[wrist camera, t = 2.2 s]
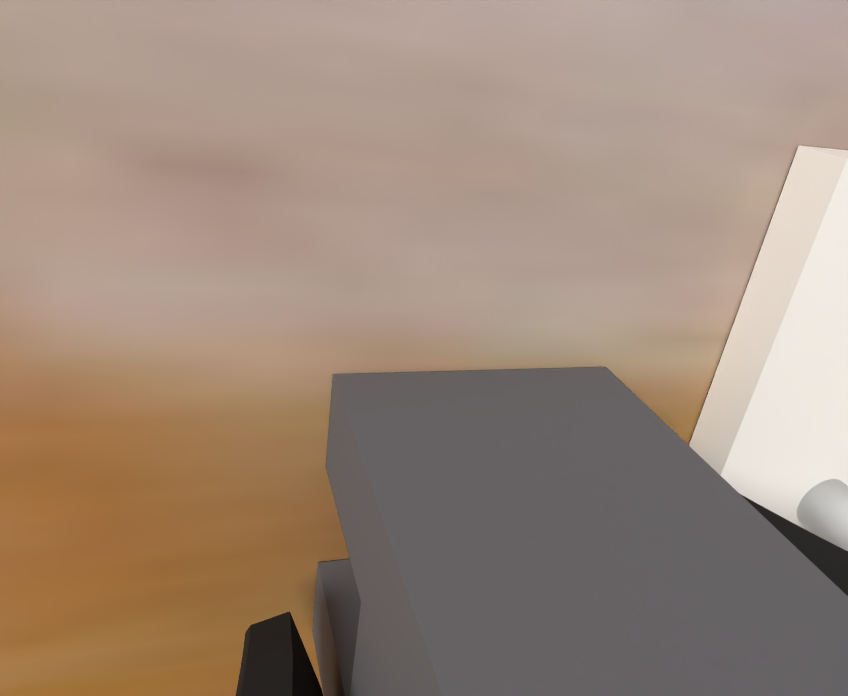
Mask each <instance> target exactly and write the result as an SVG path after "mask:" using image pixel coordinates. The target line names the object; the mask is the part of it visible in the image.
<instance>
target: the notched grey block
mask: <svg viewBox="0 0 848 696" xmlns="http://www.w3.org/2000/svg"><path fill="white" fill-rule="evenodd" d="M326 469H327V473H328V477H329V481H330V485H331V488H332V492H333V496H334V500H335V504H336V508H337V511H338V515H339V519H340V523H341V527H342V531H343V534H344V538H345V542H346V546H347V550H348V553H349V557H350V559H345V560H336V561H327V562H318V568H317V581H316V593H315V606H314V619H313V637H314V642H315V648H316V654H317V660H318V665H319V671H320V677H321V683H322V688H323V694H324V696H848V596H847V595H846V594H845V593H844V592H843V591H842V590H841V589H839V588H838V587H837V586H836V585H835V584H834V583H833V582H832V581H831V580H830V579H829V578H828V577H827V576H826V575H825V574H824V573H823V572H822V571H821V570H819V569H818V568H817V567H816V566H815V565H814V564H813V563H812V562H811V561H810V560H809V559H808V558H807V557H806V556H805V555H804V554H803V553H802V552H800V551H799V550H798V549H797V548H796V547H795V546H794V545H793V544H792V543H791V542H790V541H789V540H788V539H787V538H786V537H785V536H784V535H783V534H781V533H780V532H779V531H778V530H777V529H776V528H775V527H774V526H773V525H772V524H771V523H770V522H769V521H768V520H767V519H766V518H765V517H764V516H763V515H761V514H760V513H759V512H758V511H757V510H756V509H755V508H754V507H753V506H752V505H751V504H750V503H749V502H748V501H747V500H746V499H745V498H744V497H742V496H741V495H740V494H739V493H738V492H737V491H736V490H735V489H734V488H733V487H732V486H731V485H730V484H729V483H728V482H727V481H726V480H725V479H723V478H722V477H721V476H720V475H719V474H718V473H717V472H716V471H715V470H714V469H713V468H712V467H711V466H710V465H709V464H708V463H707V462H706V461H705V460H703V459H702V458H701V457H700V456H699V455H698V454H697V453H696V452H695V451H694V450H693V449H692V448H691V447H690V446H689V445H688V444H687V443H686V442H684V441H683V440H682V439H681V438H680V437H679V436H678V435H677V434H676V433H675V432H674V431H673V430H672V429H671V428H670V427H669V426H668V425H667V424H666V423H664V422H663V421H662V420H661V419H660V418H659V417H658V416H657V415H656V414H655V413H654V412H653V411H652V410H651V409H650V408H649V407H648V406H647V405H645V404H644V403H643V402H642V401H641V400H640V399H639V398H638V397H637V396H636V395H635V394H634V393H633V392H632V391H631V390H630V389H629V388H628V387H626V386H625V385H624V384H623V383H622V382H621V381H620V380H619V379H618V378H617V377H616V376H615V375H614V374H613V373H612V372H611V371H610V370H609V369H608V368H606V367H579V368H542V369H505V370H468V371H431V372H394V373H356V374H333V380H332V392H331V405H330V417H329V430H328V443H327V455H326Z"/></svg>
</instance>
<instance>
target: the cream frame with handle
mask: <svg viewBox="0 0 848 696" xmlns="http://www.w3.org/2000/svg"><path fill="white" fill-rule="evenodd" d="M689 446H690V447H691V448H692V449H693V450H694V451H695V452H696V453H697V454H698V455H699V456H700V457H701V458H702V459H703V460H705V461H706V462H707V463H708V464H709V465H710V466H711V467H712V468H713V469H714V470H715V471H716V472H717V473H718V474H719V475H720V476H721V477H722V478H723V479H725V480H726V481H727V482H728V483H729V484H730V485H731V486H732V487H733V488H734V489H735V490H736V491H737V492H738V493H739V494H741V495H743V496H745V497H746V498H748V499H750V500H752V501H754V502H755V503H757V504H759V505H761V506H763V507H765V508H766V509H768V510H770V511H772V512H774V513H776V514H777V515H779V516H781V517H783V518H785V519H787V520H788V521H790V522H792V523H794V524H796V525H798V526H800V527H802V528H803V529H805V530H807V531H809V532H811V533H813V534H815V535H817V536H819V537H821V538H823V539H825V540H826V541H828V542H830V543H832V544H834V545H836V546H838V547H840V548H842V549H844V550H846V551H848V150H839V149H829V148H819V147H809V146H798V149H797V151H796V154H795V157H794V160H793V162H792V165H791V168H790V171H789V173H788V176H787V179H786V181H785V184H784V187H783V190H782V192H781V195H780V198H779V201H778V203H777V206H776V209H775V212H774V214H773V217H772V220H771V223H770V225H769V228H768V231H767V233H766V236H765V239H764V242H763V244H762V247H761V250H760V253H759V255H758V258H757V261H756V264H755V266H754V269H753V272H752V274H751V277H750V280H749V283H748V285H747V288H746V291H745V294H744V296H743V299H742V302H741V305H740V307H739V310H738V313H737V315H736V318H735V321H734V324H733V326H732V329H731V332H730V335H729V337H728V340H727V343H726V346H725V348H724V351H723V354H722V357H721V359H720V362H719V365H718V367H717V370H716V373H715V376H714V378H713V381H712V384H711V387H710V389H709V392H708V395H707V398H706V400H705V403H704V406H703V408H702V411H701V414H700V417H699V419H698V422H697V425H696V428H695V430H694V433H693V436H692V439H691V441H690V444H689Z"/></svg>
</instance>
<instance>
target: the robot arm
mask: <svg viewBox="0 0 848 696" xmlns="http://www.w3.org/2000/svg"><path fill="white" fill-rule="evenodd" d="M740 495H741V494H740ZM741 496H742V497H744V498H745V499H746V500H747V501H748V502H749V503H750V504H751V505H752V506H753V507H754V508H755V509H756V510H757V511H758V512H759V513H760V514H761V515H763V516H764V517H765V518H766V519H767V520H768V521H769V522H770V523H771V524H772V525H773V526H774V527H775V528H776V529H777V530H778V531H779V532H780V533H781V534H783V535H784V536H785V537H786V538H787V539H788V540H789V541H790V542H791V543H792V544H793V545H794V546H795V547H796V548H797V549H798V550H799V551H800V552H802V553H803V554H804V555H805V556H806V557H807V558H808V559H809V560H810V561H811V562H812V563H813V564H814V565H815V566H816V567H817V568H818V569H819V570H821V571H822V572H823V573H824V574H825V575H826V576H827V577H828V578H829V579H830V580H831V581H832V582H833V583H834V584H835V585H836V586H837V587H838V588H839V589H841V590H842V591H843V592H844V593H845V594H846V595H847V596H848V551H846V550H844V549H842V548H840V547H838V546H836V545H834V544H832V543H830V542H828V541H826V540H825V539H823V538H821V537H819V536H817V535H815V534H813V533H811V532H809V531H807V530H805V529H803V528H802V527H800V526H798V525H796V524H794V523H792V522H790V521H788V520H787V519H785V518H783V517H781V516H779V515H777V514H776V513H774V512H772V511H770V510H768V509H766V508H765V507H763V506H761V505H759V504H757V503H755V502H754V501H752V500H750V499H748V498H746V497H745V496H743V495H741ZM236 696H323V693H322V689H321V687H320V684H319V682H318V679H317V677H316V674H315V672H314V670H313V667H312V665H311V662H310V660H309V657H308V655H307V652H306V650H305V648H304V645H303V643H302V640H301V638H300V635H299V633H298V630H297V628H296V626H295V623H294V621H293V618H292V616H291V613H290V612H287V613H284V614H281V615H278V616H276V617H273V618H270V619H267V620H264V621H261V622H259V623H256V624H253V625H251V626H250V627H249V628H248V630H247V631H246V633H245V641H244V650H243V657H242V663H241V669H240V675H239V681H238V686H237V692H236Z"/></svg>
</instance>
